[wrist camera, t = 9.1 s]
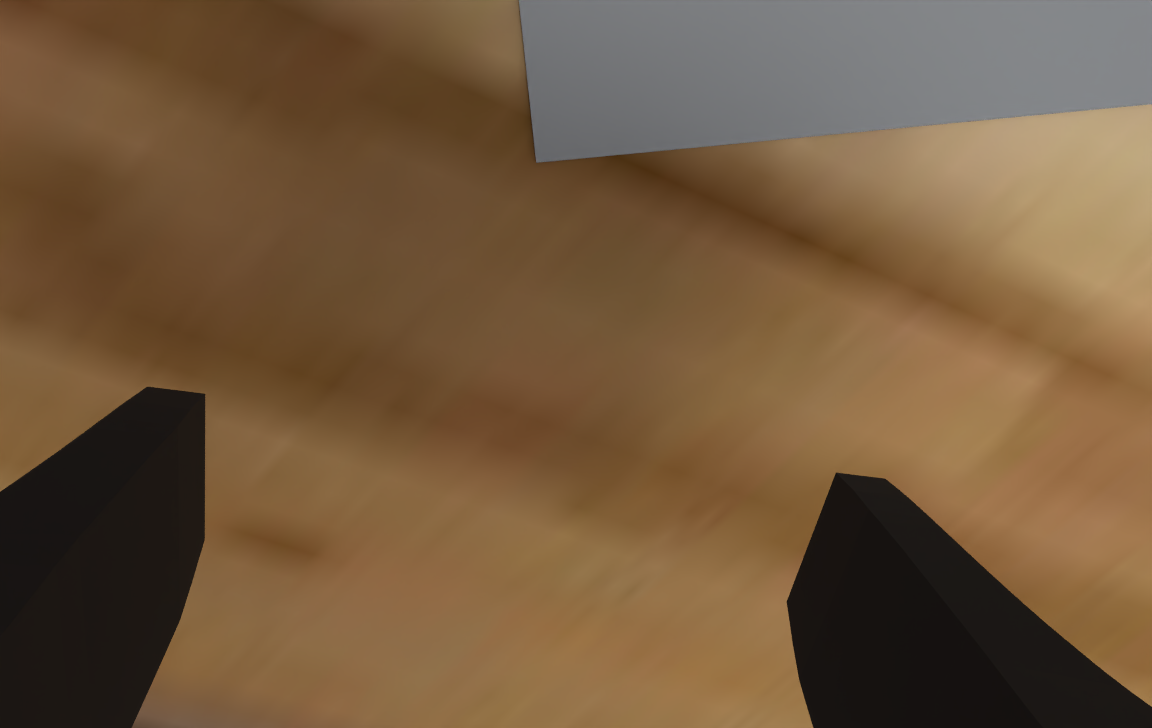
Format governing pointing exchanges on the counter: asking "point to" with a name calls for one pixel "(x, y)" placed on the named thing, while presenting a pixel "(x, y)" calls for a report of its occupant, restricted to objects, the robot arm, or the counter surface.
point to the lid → (816, 67)
